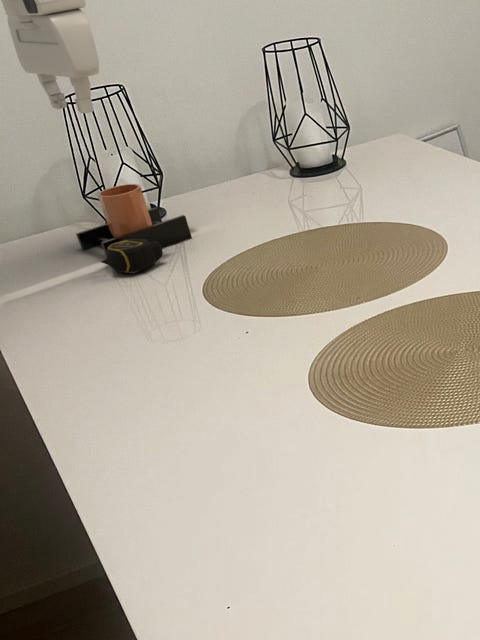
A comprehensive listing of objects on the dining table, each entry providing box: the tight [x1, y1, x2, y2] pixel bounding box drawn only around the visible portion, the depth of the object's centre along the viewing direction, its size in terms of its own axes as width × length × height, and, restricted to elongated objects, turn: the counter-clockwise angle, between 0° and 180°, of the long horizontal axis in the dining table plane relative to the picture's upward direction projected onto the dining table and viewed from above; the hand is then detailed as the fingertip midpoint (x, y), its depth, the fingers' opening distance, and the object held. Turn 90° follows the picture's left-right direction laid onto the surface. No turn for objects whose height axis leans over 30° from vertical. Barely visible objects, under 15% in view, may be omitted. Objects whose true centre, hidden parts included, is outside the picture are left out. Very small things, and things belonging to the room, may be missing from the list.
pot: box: [97, 183, 153, 238], centre depth 147 cm, size 6×7×6 cm
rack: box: [75, 207, 193, 266], centre depth 149 cm, size 14×10×3 cm
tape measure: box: [106, 239, 164, 274], centre depth 140 cm, size 7×7×4 cm
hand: (73, 110), depth 137 cm, fingers open, 8 cm apart
